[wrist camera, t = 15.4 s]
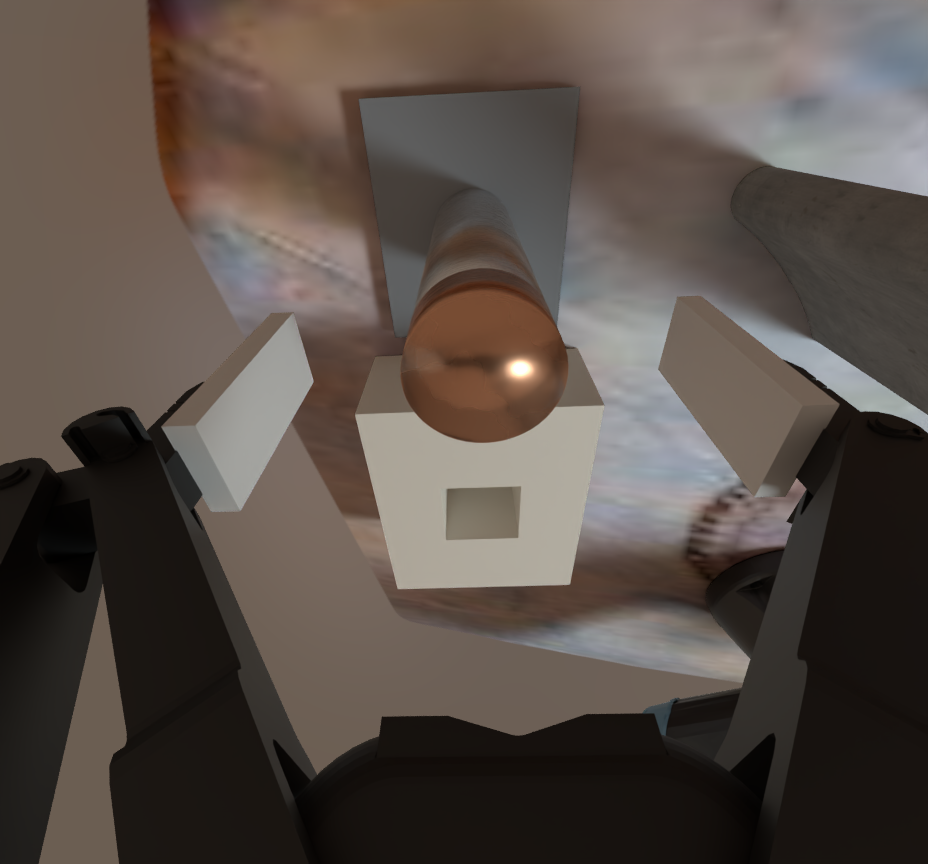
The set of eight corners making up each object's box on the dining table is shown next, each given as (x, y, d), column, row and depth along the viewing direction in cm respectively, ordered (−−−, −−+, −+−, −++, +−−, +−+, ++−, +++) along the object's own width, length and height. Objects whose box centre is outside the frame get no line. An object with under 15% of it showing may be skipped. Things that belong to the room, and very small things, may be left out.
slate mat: (554, 325, 32) (556, 330, 31) (396, 331, 32) (395, 337, 32) (576, 87, 23) (580, 86, 23) (362, 99, 24) (358, 98, 23)
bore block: (554, 518, 45) (569, 584, 39) (406, 522, 46) (397, 589, 39) (577, 348, 33) (604, 405, 27) (375, 356, 34) (354, 414, 27)
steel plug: (511, 271, 29) (559, 440, 14) (437, 274, 29) (410, 445, 14) (513, 186, 25) (578, 291, 11) (430, 190, 26) (388, 299, 11)
